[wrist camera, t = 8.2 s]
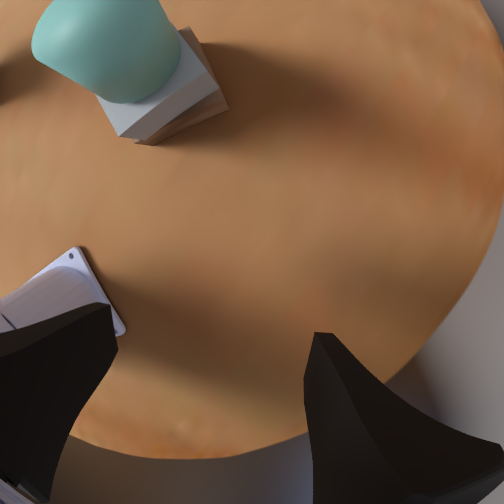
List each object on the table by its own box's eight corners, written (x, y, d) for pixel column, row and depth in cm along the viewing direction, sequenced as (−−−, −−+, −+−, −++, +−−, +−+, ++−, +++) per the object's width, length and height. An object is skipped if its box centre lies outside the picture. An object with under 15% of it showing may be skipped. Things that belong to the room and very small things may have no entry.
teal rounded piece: (99, 119, 10) (29, 88, 6) (90, 49, 10) (36, 7, 5) (190, 80, 10) (153, 16, 5) (171, 12, 9) (139, -51, 5)
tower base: (154, 146, 17) (133, 143, 14) (129, 80, 16) (108, 70, 13) (230, 110, 16) (222, 99, 13) (200, 44, 15) (188, 25, 12)
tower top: (144, 140, 14) (118, 136, 11) (109, 80, 13) (82, 68, 10) (219, 88, 13) (207, 71, 10) (176, 30, 12) (158, 7, 9)
